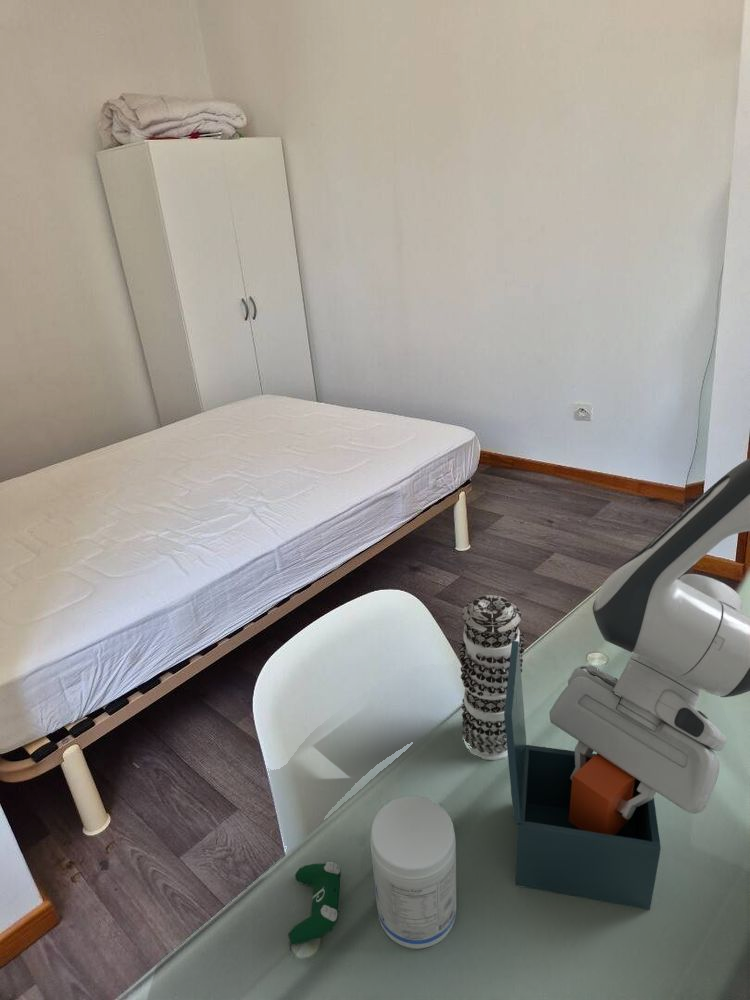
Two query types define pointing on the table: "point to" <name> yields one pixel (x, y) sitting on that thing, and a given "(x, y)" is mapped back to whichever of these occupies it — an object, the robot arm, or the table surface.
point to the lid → (515, 731)
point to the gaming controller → (318, 901)
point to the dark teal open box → (581, 840)
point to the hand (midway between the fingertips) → (598, 799)
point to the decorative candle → (487, 672)
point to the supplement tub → (414, 871)
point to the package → (599, 796)
